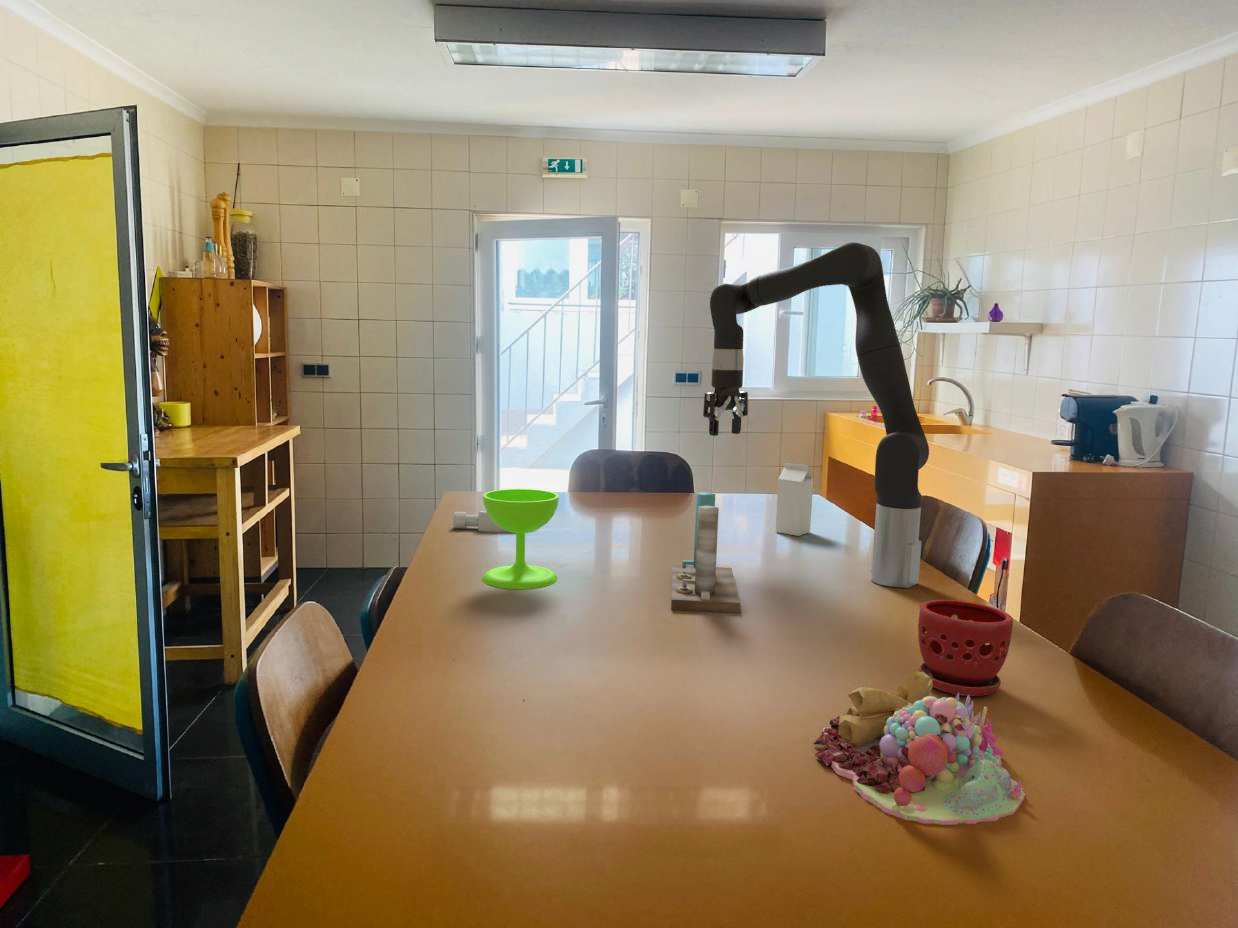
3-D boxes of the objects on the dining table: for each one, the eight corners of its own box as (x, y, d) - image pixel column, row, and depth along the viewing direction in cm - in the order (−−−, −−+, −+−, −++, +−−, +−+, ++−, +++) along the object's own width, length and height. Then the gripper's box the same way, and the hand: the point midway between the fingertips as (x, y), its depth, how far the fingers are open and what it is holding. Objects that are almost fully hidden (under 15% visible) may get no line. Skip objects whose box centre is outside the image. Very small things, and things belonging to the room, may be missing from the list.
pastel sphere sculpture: (780, 741, 111) (784, 673, 110) (918, 713, 121) (923, 651, 120) (923, 844, 89) (930, 761, 88) (1078, 800, 99) (1086, 724, 98)
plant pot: (1015, 706, 124) (1023, 626, 122) (920, 697, 126) (926, 618, 125) (995, 673, 136) (1002, 600, 135) (908, 665, 139) (914, 593, 137)
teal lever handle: (682, 565, 187) (685, 491, 184) (711, 566, 186) (715, 492, 184) (682, 570, 183) (685, 494, 181) (712, 571, 182) (715, 495, 180)
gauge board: (672, 573, 190) (675, 489, 188) (731, 576, 189) (735, 491, 187) (671, 609, 165) (674, 512, 162) (739, 612, 164) (744, 515, 161)
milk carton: (798, 536, 232) (803, 467, 229) (775, 532, 236) (778, 464, 233) (810, 532, 237) (814, 464, 235) (786, 528, 242) (790, 461, 239)
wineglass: (563, 570, 190) (564, 490, 188) (550, 591, 175) (552, 503, 172) (492, 566, 192) (493, 487, 189) (473, 586, 176) (473, 500, 174)
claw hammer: (471, 496, 257) (452, 511, 227) (545, 498, 257) (536, 514, 227) (471, 514, 257) (452, 531, 227) (545, 516, 258) (536, 534, 228)
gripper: (721, 368, 201) (718, 437, 203) (757, 368, 211) (755, 434, 213) (696, 367, 206) (694, 434, 208) (733, 367, 216) (731, 431, 218)
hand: (725, 434), depth 211 cm, fingers open, 8 cm apart
